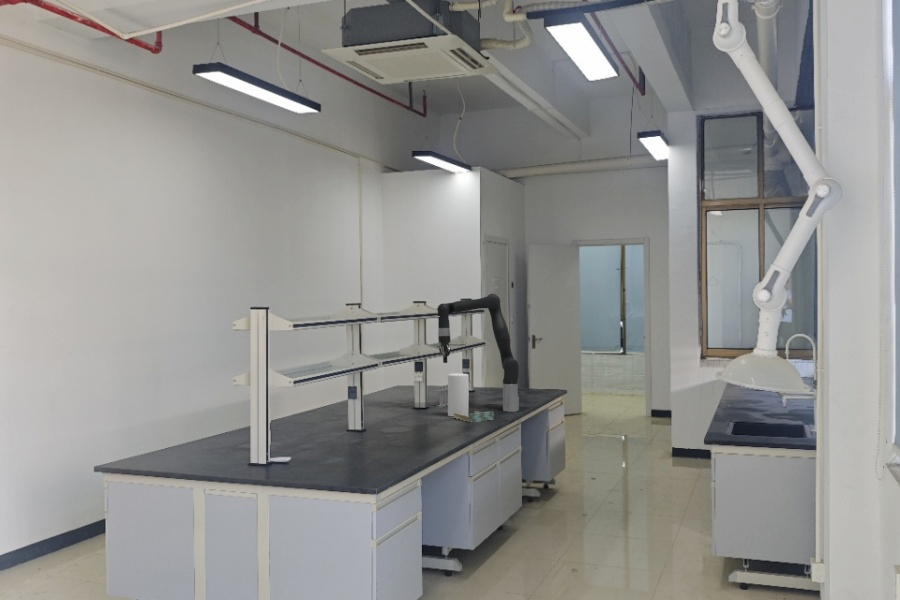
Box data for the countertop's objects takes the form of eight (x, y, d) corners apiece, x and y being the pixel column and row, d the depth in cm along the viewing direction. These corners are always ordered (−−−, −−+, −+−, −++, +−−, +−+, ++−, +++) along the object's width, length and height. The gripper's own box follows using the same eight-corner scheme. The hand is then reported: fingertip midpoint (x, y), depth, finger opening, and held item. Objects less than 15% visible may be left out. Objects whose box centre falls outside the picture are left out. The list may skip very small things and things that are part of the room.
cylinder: (444, 414, 474) (444, 373, 474) (462, 413, 479) (463, 373, 479) (453, 417, 463) (453, 376, 462) (471, 416, 468) (472, 375, 468)
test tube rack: (442, 407, 504) (442, 387, 504) (436, 407, 506) (436, 386, 506) (457, 402, 527) (458, 382, 527) (452, 401, 529) (452, 382, 528)
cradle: (475, 416, 470) (475, 407, 470) (493, 420, 456) (493, 411, 455) (453, 418, 461) (453, 410, 461) (471, 422, 446) (471, 414, 446)
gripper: (454, 335, 484) (455, 362, 484) (445, 335, 496) (446, 362, 495) (443, 335, 481) (444, 363, 480) (434, 335, 493) (435, 362, 492)
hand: (445, 362), depth 488 cm, fingers closed
